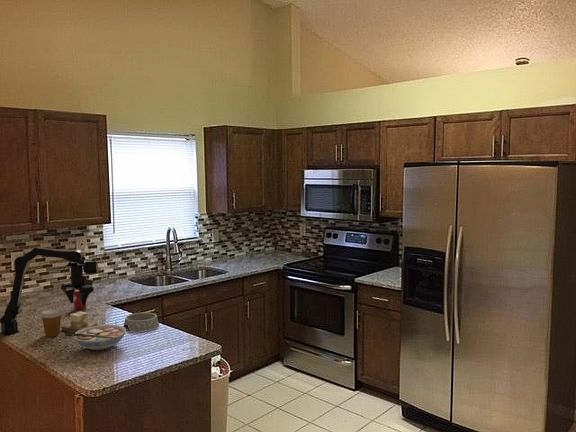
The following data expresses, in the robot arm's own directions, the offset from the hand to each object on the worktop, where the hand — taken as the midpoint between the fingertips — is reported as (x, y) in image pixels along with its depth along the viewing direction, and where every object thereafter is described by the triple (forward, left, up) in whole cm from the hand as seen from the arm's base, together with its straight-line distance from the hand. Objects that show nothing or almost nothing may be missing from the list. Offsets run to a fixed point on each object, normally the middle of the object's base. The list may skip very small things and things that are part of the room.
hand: (77, 304), depth 253 cm
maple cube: (0, -1, -11) cm, 11 cm away
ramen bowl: (-13, -33, -13) cm, 37 cm away
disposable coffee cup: (-13, +3, -13) cm, 19 cm away
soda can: (+23, +29, -13) cm, 40 cm away
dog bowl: (+20, -24, -13) cm, 34 cm away
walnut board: (0, -1, -13) cm, 13 cm away
